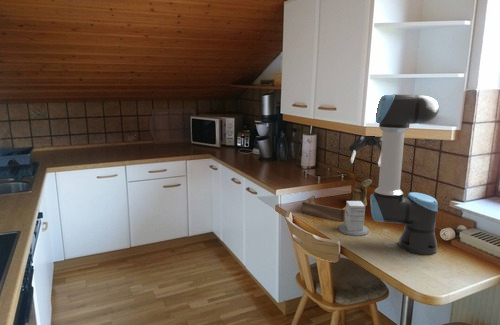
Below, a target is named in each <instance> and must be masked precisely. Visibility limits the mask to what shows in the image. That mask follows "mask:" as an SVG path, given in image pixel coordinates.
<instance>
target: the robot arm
mask: <svg viewBox="0 0 500 325" xmlns="http://www.w3.org/2000/svg"><path fill="white" fill-rule="evenodd" d="M439 112H440V105H439V103H438V101H437V100H436V99H435V98H433V97H431V96H428V95H422V94H395V93H393V94H391V95H384V96H382V97H381V99H380V101H379V104H378V108H377V113H376V122H377V123H379V127H380V129H381V130H382V131H383V132H382V136H381V137H375V136H366V135H365V136H362V134H360V135H359V136H358V138H356V140H354V142H353V143H352V144H350V146H349V147H348V150H349V152H351V153H350V163H351V164H353V163H354V160H355V159H356V158H355V157H356V155H357V151H359V150H361V149H362V148H363V147H366V146H373V147H374V146H376V148H377V149H378V150H379V151H380V155H379V158H378V161H377V165H378V166H377V167H379V177H378V186H377V187H376V188H375V189H374V193H372V194H370V196H369V201H370V202H369V204H370V214H371V218H372V220H373V221H374V222H379V223H391V224H404V229H403V231H402V233H401V235H400V237H399V239H398V240H399V241H398V246H399V247H400V248H401V249H403V250H405V251H407V252H410V253H412V254H417V255H424V256H425V255H427V256H428V255H433V254H435V253H437V252H438V242H437V238H436V233H435V231H436V225H437V224H436V223H437V215H438V212H439V211H438V209H439V208H438V205H439V204H438V201H437V198H435V197H433V196H431V195H428V194H425V193H421V192H415V191H414V192H408V194H407V196H404V192H403V191H402V189H401V180H402V168H403V159H404V158H403V156H404V143H405V133H406V131H408V130H409V129H410V124H413V125H414V124H415V125H417V124H418V125H419V124H425V123H428V122H430V121H433V119H435V118H436V117H437V115H438V114H439ZM380 142H381V144H380Z"/></svg>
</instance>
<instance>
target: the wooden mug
mask: <svg viewBox="0 0 500 325" xmlns="http://www.w3.org/2000/svg"><path fill="white" fill-rule="evenodd" d="M372 182H373V180H372V179H371V178H366V179H364V180H363V181H362V182H361V183H360V184H355V185H354V187H353V192H352V198H351V201H361V202H362V203H363V204H364V206H365V207H367V206H368V201H367V192H368V191H367V190H368V189H367V188H368V187H369V186H370V185H371V184H372Z"/></svg>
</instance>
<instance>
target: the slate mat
mask: <svg viewBox="0 0 500 325" xmlns="http://www.w3.org/2000/svg"><path fill="white" fill-rule="evenodd" d="M338 231H339V232H340V233H342V234H344V235H347V236H351V237H352V236H353V237H364V236H367V235H368V234H369V233H370V229H369V228H368V226H366V225H364V227H363V231H348V229H347V227H346V226H345V222H344V223H340V224H339V225H338Z"/></svg>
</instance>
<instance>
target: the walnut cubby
mask: <svg viewBox="0 0 500 325" xmlns="http://www.w3.org/2000/svg"><path fill="white" fill-rule="evenodd" d="M301 213H302V214H305V215H310V216H314V217H319V218H323V219H329V220H333V221H339V222H344V223H345V216H346V205H345V206H344V207H343V208H339V207H333V206H327V205H322V204H319V203H316V196H315V195H312V196H310V197H308V198H307V199H306V200H303V201H302V203H301Z"/></svg>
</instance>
